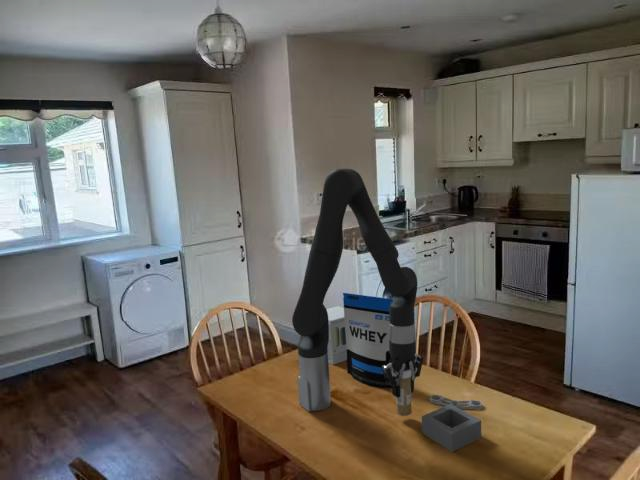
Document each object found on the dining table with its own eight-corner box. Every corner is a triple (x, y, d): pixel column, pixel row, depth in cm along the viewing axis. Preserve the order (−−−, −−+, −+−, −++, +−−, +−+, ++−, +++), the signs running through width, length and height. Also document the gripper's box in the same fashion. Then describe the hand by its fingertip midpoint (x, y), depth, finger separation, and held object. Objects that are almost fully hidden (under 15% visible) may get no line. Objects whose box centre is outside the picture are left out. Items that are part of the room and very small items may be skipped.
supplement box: (332, 365, 181) (329, 320, 178) (313, 355, 192) (310, 312, 189) (360, 356, 188) (358, 312, 185) (340, 346, 199) (338, 305, 196)
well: (451, 452, 124) (451, 434, 123) (422, 433, 134) (421, 416, 133) (481, 437, 130) (481, 420, 129) (450, 420, 139) (450, 404, 138)
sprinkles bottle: (414, 415, 139) (413, 371, 137) (399, 417, 138) (398, 373, 136) (408, 407, 143) (407, 364, 141) (393, 409, 142) (392, 366, 140)
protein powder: (354, 368, 178) (350, 289, 173) (415, 382, 163) (412, 297, 158) (340, 378, 170) (335, 296, 165) (403, 394, 156) (399, 305, 151)
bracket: (437, 389, 155) (483, 401, 145) (438, 394, 155) (484, 407, 146) (426, 398, 149) (474, 412, 140) (427, 404, 150) (474, 418, 140)
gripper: (412, 328, 144) (413, 382, 146) (374, 339, 136) (375, 396, 139) (430, 335, 137) (431, 392, 140) (391, 348, 130) (392, 406, 133)
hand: (403, 393), depth 140 cm, fingers closed on sprinkles bottle, 4 cm apart
